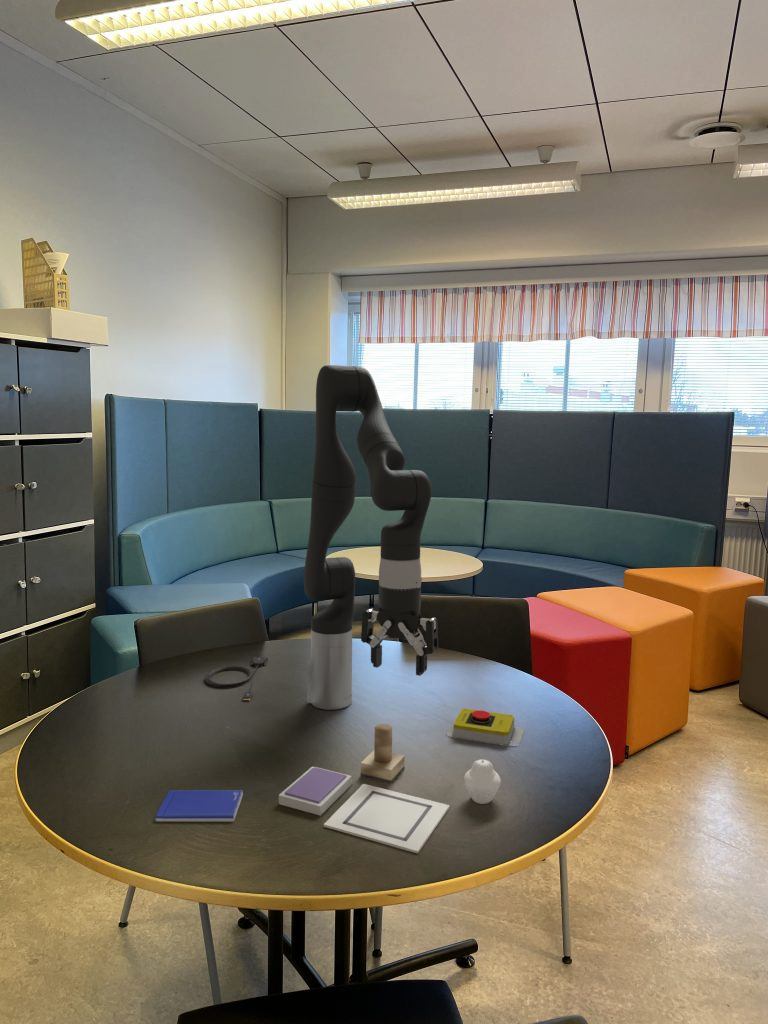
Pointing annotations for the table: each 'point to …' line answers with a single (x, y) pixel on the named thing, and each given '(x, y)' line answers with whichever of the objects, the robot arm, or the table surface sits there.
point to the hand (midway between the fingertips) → (398, 670)
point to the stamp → (382, 757)
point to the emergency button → (485, 727)
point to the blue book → (200, 805)
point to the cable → (255, 662)
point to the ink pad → (315, 790)
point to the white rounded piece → (482, 781)
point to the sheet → (388, 817)
